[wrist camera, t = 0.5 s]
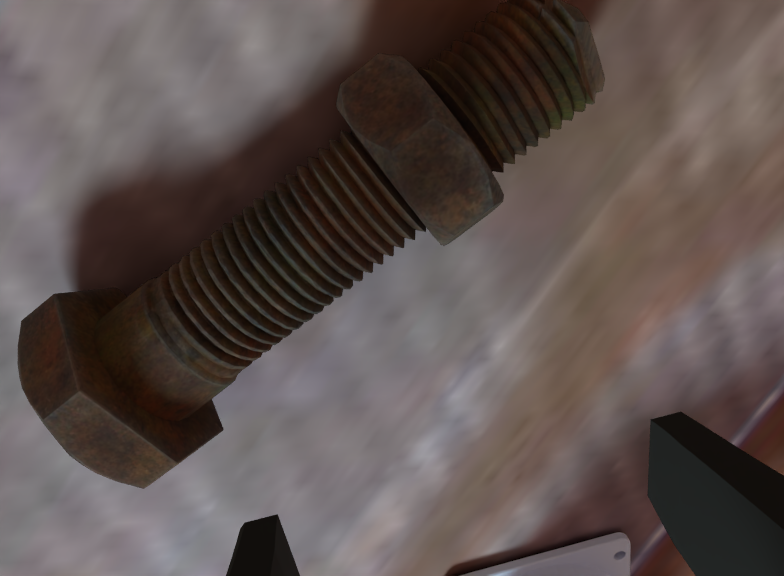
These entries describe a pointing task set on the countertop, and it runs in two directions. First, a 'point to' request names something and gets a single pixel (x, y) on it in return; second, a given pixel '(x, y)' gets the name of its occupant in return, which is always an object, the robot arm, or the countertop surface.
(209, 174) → the countertop surface
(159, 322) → the bolt
